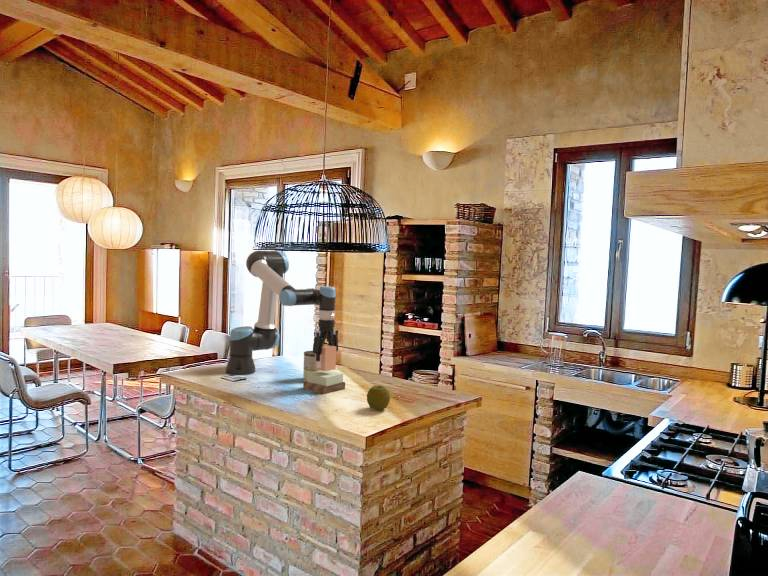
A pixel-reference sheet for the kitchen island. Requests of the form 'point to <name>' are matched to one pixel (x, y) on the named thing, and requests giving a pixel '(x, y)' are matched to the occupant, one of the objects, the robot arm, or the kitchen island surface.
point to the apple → (378, 397)
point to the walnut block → (323, 387)
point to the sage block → (325, 378)
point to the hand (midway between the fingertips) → (325, 366)
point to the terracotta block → (327, 358)
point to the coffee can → (309, 364)
